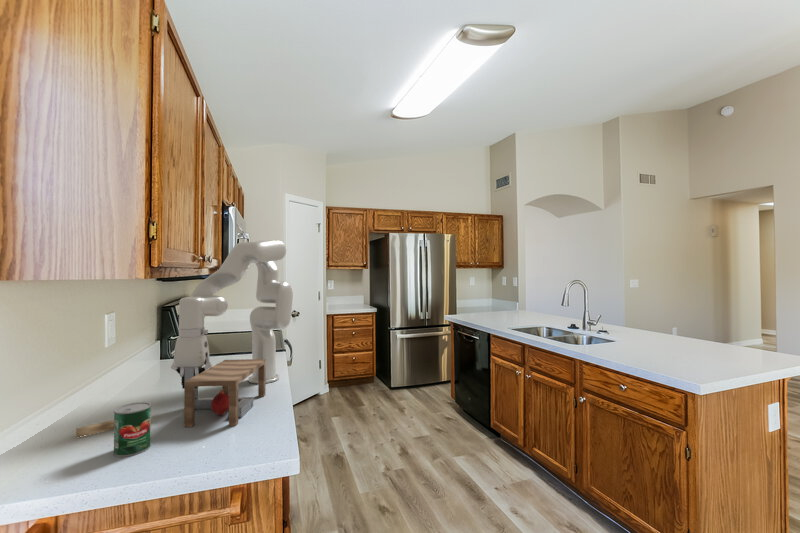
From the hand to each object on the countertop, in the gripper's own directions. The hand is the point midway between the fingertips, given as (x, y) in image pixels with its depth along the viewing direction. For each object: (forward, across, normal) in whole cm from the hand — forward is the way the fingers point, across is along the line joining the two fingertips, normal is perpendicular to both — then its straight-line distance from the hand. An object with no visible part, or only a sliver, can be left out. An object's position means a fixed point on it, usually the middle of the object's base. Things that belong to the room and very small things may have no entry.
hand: (191, 386), depth 128 cm
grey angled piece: (+7, -10, +4) cm, 13 cm away
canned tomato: (+8, 0, +30) cm, 31 cm away
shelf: (+7, -14, +2) cm, 15 cm away
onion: (+8, -13, +7) cm, 17 cm away
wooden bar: (+8, +16, +16) cm, 24 cm away
